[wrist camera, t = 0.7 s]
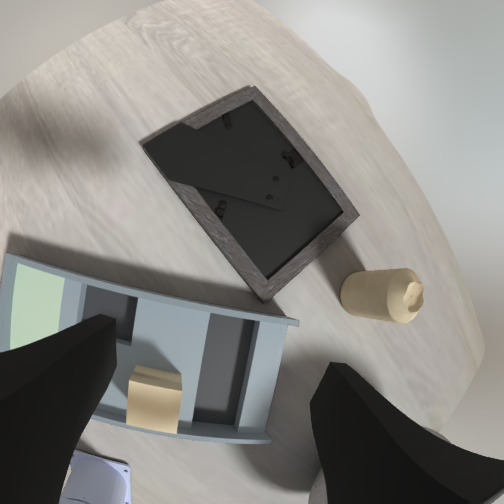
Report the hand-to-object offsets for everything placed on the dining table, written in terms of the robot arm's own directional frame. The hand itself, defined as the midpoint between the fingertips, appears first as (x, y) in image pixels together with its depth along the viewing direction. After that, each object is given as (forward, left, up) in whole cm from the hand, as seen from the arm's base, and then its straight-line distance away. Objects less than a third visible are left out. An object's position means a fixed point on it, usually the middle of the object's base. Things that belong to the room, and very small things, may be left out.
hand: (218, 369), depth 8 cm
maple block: (-9, +2, -18) cm, 20 cm away
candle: (+5, -19, -20) cm, 28 cm away
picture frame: (+15, -4, -21) cm, 26 cm away
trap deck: (-6, +5, -20) cm, 21 cm away
